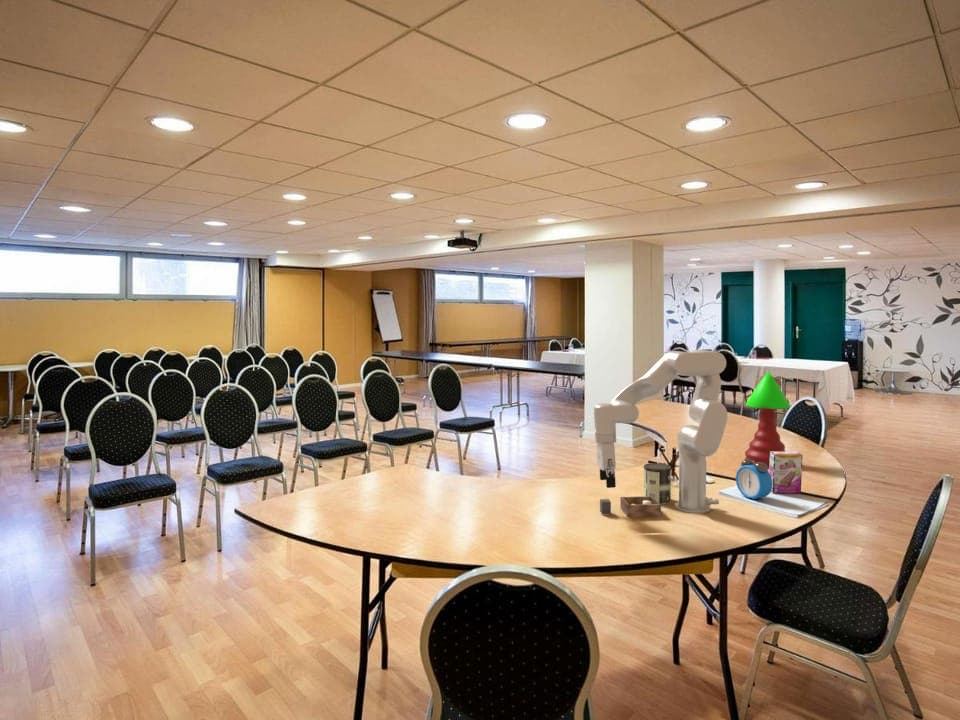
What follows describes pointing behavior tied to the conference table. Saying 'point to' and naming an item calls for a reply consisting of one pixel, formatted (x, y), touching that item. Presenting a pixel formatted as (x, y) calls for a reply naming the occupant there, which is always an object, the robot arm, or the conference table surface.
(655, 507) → the box
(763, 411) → the table lamp
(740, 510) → the conference table surface
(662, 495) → the coffee can
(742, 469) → the alarm clock
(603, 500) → the lid
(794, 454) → the candy bar box
